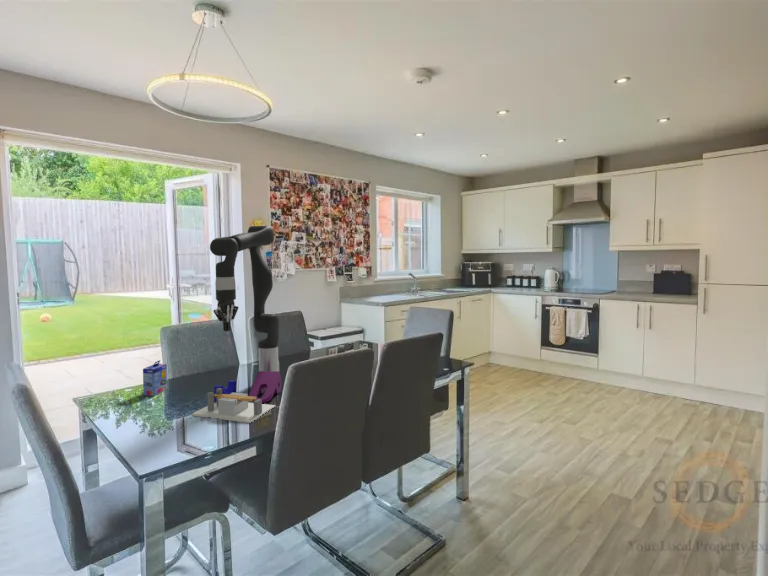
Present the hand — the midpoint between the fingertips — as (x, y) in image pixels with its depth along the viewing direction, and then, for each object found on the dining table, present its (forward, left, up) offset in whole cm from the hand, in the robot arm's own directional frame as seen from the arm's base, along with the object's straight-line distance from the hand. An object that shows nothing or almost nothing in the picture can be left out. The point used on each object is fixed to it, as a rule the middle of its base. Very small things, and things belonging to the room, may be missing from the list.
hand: (227, 330), depth 171 cm
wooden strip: (+6, +7, -26) cm, 27 cm away
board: (+4, +6, -31) cm, 32 cm away
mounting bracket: (-14, +8, -32) cm, 35 cm away
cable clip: (-7, -8, -31) cm, 32 cm away
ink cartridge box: (-5, -43, -31) cm, 53 cm away
